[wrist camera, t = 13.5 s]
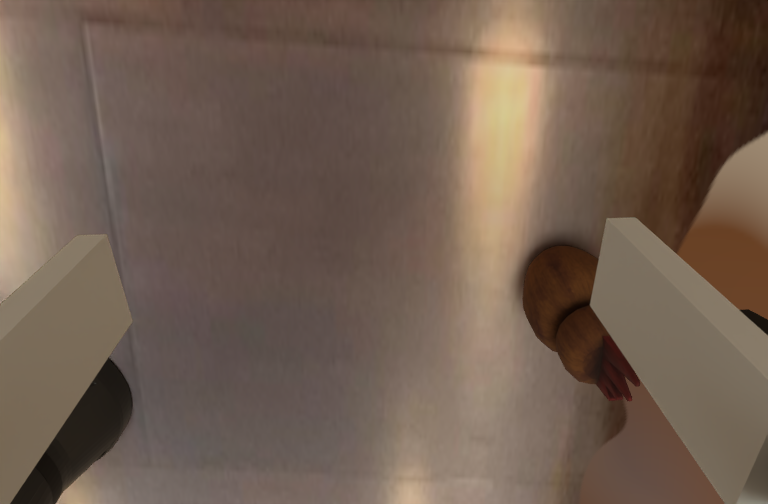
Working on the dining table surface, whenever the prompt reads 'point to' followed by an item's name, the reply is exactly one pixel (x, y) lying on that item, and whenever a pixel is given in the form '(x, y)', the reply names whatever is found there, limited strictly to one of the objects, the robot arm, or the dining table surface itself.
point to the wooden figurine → (574, 320)
